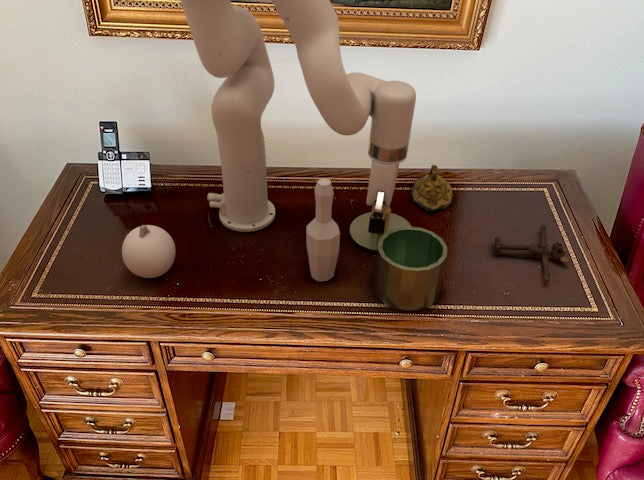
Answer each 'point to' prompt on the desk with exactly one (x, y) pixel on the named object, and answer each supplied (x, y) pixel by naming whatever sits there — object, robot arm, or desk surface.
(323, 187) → the low poly bottle
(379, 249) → the tin
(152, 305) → the desk surface
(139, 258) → the ornament
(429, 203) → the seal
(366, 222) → the lid
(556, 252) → the brown thin branching figure
